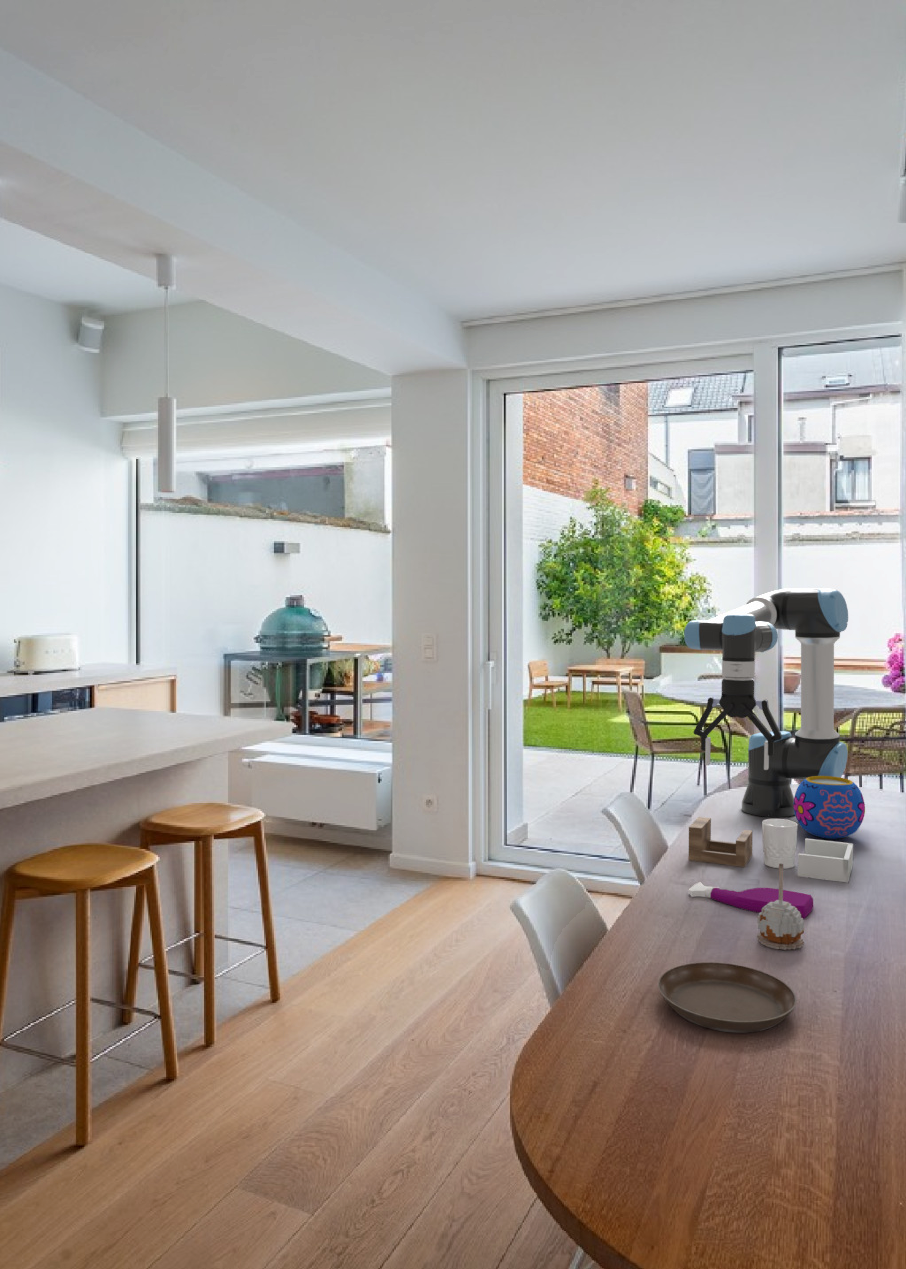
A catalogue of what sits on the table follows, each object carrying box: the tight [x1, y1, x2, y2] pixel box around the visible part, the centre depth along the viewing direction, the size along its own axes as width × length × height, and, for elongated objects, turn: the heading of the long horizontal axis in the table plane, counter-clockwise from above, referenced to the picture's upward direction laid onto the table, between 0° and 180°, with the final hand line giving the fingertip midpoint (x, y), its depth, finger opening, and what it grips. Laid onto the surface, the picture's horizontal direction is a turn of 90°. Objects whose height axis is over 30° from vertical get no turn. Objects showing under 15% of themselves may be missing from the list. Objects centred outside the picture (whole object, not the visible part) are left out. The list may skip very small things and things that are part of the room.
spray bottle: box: [688, 881, 814, 920], centre depth 195 cm, size 3×11×24 cm
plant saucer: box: [657, 961, 798, 1034], centre depth 147 cm, size 21×21×3 cm
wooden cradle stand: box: [688, 816, 753, 868], centre depth 228 cm, size 11×13×8 cm
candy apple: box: [756, 863, 805, 951], centre depth 172 cm, size 8×8×15 cm
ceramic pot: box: [793, 776, 866, 840], centre depth 246 cm, size 18×18×15 cm
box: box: [797, 837, 854, 883], centre depth 217 cm, size 15×10×5 cm
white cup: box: [761, 818, 799, 870], centre depth 221 cm, size 8×8×10 cm
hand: (736, 766), depth 226 cm, fingers open, 13 cm apart
